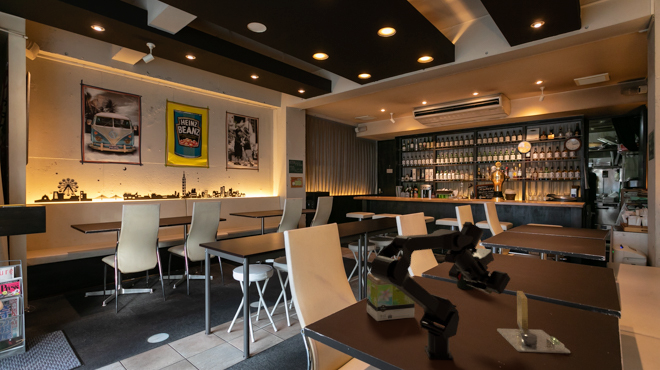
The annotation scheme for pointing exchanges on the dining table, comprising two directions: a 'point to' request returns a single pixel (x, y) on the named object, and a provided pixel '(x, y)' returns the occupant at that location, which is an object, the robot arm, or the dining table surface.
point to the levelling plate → (543, 345)
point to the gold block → (524, 320)
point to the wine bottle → (463, 283)
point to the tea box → (387, 300)
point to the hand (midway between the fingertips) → (490, 292)
